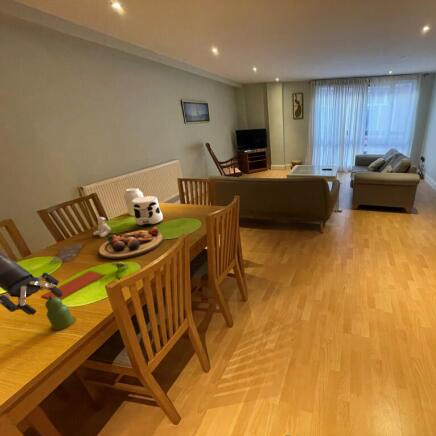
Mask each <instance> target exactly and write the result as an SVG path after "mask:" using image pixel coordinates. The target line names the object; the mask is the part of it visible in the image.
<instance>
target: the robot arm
mask: <svg viewBox="0 0 436 436" xmlns="http://www.w3.org/2000/svg"><path fill="white" fill-rule="evenodd" d="M41 281H42V282H41ZM58 284H60V280H59V279H56V278H55V277H54V276H52V275H51V274H49V273H47V272H43V273H42V274H41V275H39V276H38V277H37V276H34V275H33V274H32V273H31V272H29V271H28V270H27V269H25V268H24V267H23V266H22V265H20V264H18V263H17V262H16V261H14V260H12V259H11V258H9V257H7V256H6V255H5V254H4V253H2V252H1V251H0V288H1V289H2V290H3V291H5V292H6V294H1V295H0V305H1V306H3V307H4V308H5V309H6V310H8V311H9V312H10V313H14V312H15V311H18V310H19V311H22V312H24V313H25V314H26V315H28V316H29V315H30V316H31V315H32V316H33V315H35V314H36V313H37V310H36V309H35V308H33V307H32V306H31V305H29V303H26V299H27V298H29V297H31V296H32V295H34V294H36V293H38V292H39V291H48V292H50V291H51V292H52V293H53V294H54V295H56V296H57V297H58V298H60V297H61V296H62V295H63V294H62V293H63V292H62V291H61V290H60V289H58V287H57V286H58ZM11 297H12V298H17V304H16V303H14V301H12V300H11Z"/></svg>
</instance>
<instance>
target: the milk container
mask: <svg viewBox="0 0 436 436" xmlns="http://www.w3.org/2000/svg"><path fill="white" fill-rule="evenodd" d="M132 205H133V209H134V212H135V216H134V222H135V223H136V225H138V226H141V227H148V226H153V225H157V224H160V223H161V222H162V221H163V218H164V217H163V215H164V214H163V213H162V211H161V208H160V205H159V201H158V197H156V196H155V195H146V196H143V197H139V198H136V199H134V200H132Z"/></svg>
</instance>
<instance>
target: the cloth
mask: <svg viewBox="0 0 436 436" xmlns="http://www.w3.org/2000/svg"><path fill="white" fill-rule="evenodd" d="M104 276H105V275H104V274H101V273H98V272H94V271H92V270H88V271H87V272H85V273H83V274H81V275H79V276H78V277H76V278H73V279H72V280H70V281H68V282H66V283H64V284H62V285H60V286H58V287H57V288H58V289H60V290H61V291H62V292H63V293H62V294H63V295H62V296H61V297H60V298H59V299H61V300H63V299H65V298H67V297H69V296H70V295H72V294H75V293H76V292H78V291H80V290H81V289H83V288H84V287H87V286H88V285H90V284H92V283H94V282H96V281H97V280H99V279H101V278H102V277H104ZM49 296H52V298H54V297H57V296H56V295H54V294H53V293H52V292H51V291H48V292H46V293H45V294H43V295H42V297H43V298H46V299H47V300H49V299H50V298H49ZM57 298H58V297H57Z"/></svg>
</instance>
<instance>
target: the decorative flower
mask: <svg viewBox="0 0 436 436" xmlns="http://www.w3.org/2000/svg"><path fill="white" fill-rule="evenodd" d="M110 265H111V266H112V267H115V268H117V270H116V276H117V278H119V280H121V278H122V277H121V276H120V275H119V270H120V269H127V268H130V266H129V265H128V264H126V263H124V262H123V261H119V262H111V263H110Z"/></svg>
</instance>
